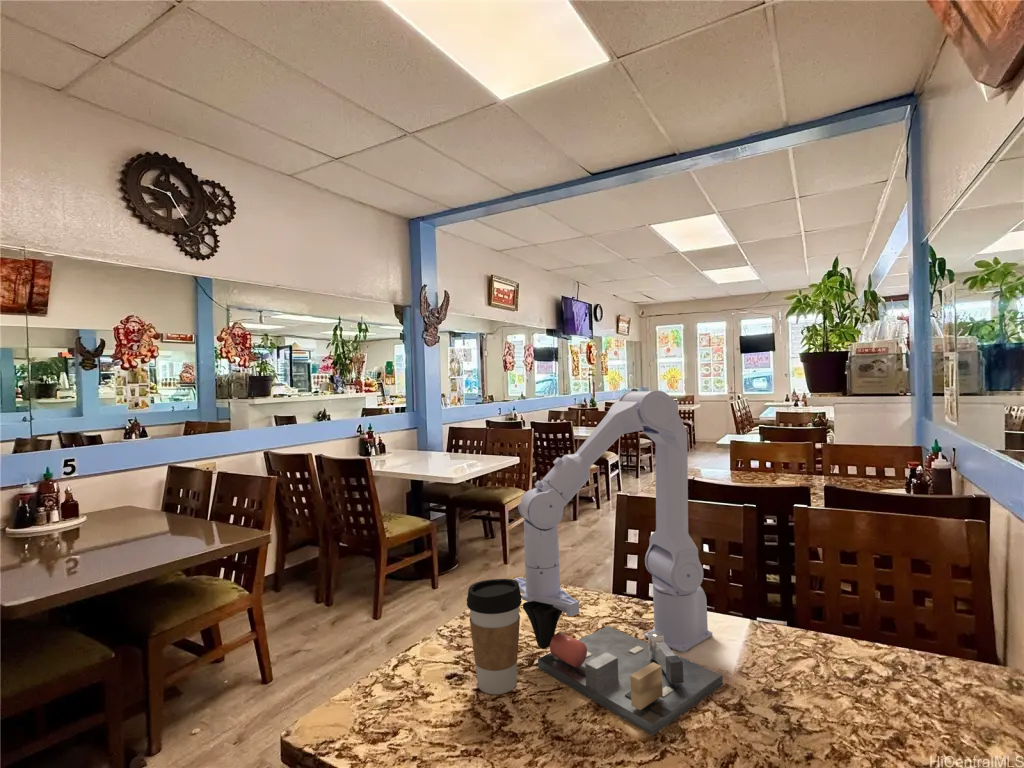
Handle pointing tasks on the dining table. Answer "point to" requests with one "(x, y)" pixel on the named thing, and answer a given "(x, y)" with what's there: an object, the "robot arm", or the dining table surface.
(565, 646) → the red short cylinder
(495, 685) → the coffee cup
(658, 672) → the paddle
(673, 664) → the lever
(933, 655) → the dining table surface
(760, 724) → the dining table surface
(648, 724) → the panel
